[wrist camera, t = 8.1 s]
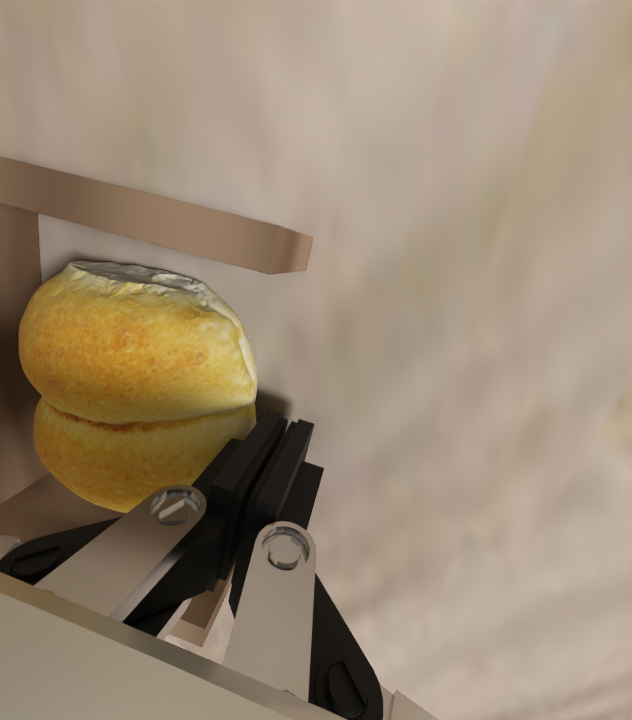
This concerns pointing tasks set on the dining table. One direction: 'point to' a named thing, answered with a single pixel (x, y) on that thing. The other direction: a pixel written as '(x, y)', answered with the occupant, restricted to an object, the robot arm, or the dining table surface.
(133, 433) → the bread roll
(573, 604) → the dining table surface
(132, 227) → the brown u-shaped frame
